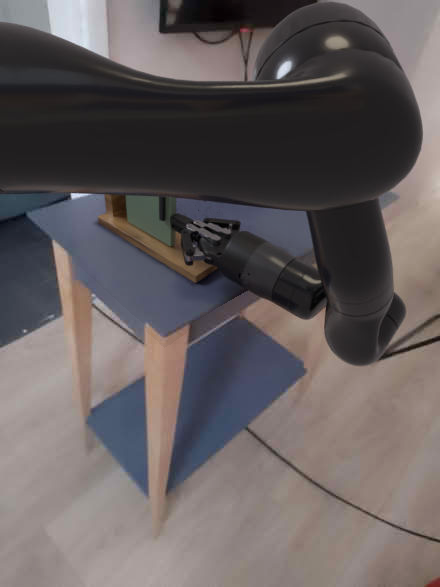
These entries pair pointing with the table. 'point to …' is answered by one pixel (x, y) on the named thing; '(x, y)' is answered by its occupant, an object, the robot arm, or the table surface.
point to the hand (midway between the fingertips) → (173, 219)
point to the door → (152, 216)
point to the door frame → (150, 240)
